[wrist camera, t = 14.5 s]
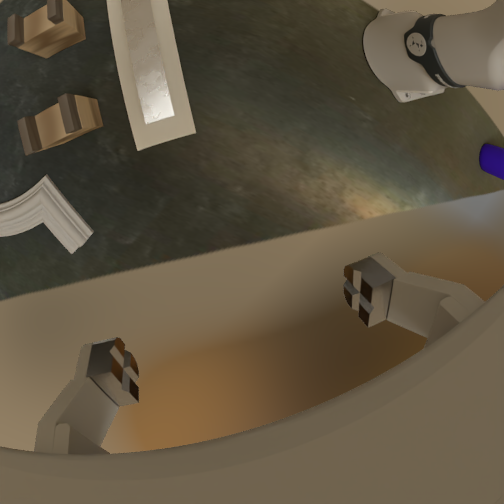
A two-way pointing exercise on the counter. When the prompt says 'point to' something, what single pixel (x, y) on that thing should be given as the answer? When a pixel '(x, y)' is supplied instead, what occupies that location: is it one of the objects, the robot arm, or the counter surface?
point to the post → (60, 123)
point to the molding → (45, 215)
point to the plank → (183, 118)
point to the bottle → (492, 160)
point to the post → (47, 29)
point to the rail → (146, 60)
